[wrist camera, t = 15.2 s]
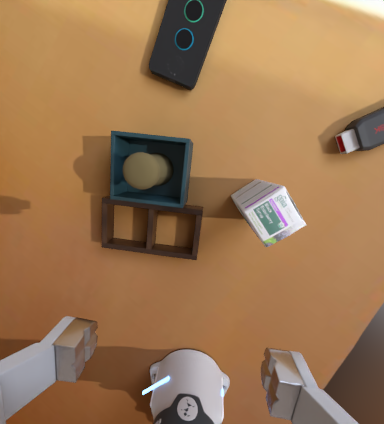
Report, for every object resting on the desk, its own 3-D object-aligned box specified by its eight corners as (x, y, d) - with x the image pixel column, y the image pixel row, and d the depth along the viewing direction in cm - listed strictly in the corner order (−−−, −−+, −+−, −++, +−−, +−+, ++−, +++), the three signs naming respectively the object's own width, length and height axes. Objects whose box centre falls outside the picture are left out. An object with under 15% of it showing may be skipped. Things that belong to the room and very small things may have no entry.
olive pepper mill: (134, 169, 39) (106, 171, 28) (156, 145, 38) (135, 137, 27) (158, 192, 39) (139, 202, 29) (180, 169, 38) (169, 171, 27)
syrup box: (229, 195, 39) (240, 213, 25) (256, 177, 38) (285, 185, 24) (245, 219, 40) (265, 250, 26) (272, 203, 39) (309, 225, 25)
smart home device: (146, 68, 34) (192, -84, 29) (149, 72, 35) (193, -70, 31) (193, 88, 34) (247, -60, 29) (194, 91, 36) (245, -48, 31)
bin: (187, 201, 40) (183, 208, 34) (125, 193, 41) (109, 199, 34) (193, 143, 38) (190, 138, 31) (127, 136, 38) (111, 130, 32)
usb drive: (415, 127, 34) (433, 123, 32) (341, 159, 36) (351, 158, 34) (407, 95, 33) (425, 89, 31) (332, 130, 35) (342, 127, 33)
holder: (197, 253, 42) (196, 260, 39) (108, 241, 43) (101, 247, 40) (203, 206, 40) (202, 210, 37) (109, 195, 41) (101, 197, 38)
